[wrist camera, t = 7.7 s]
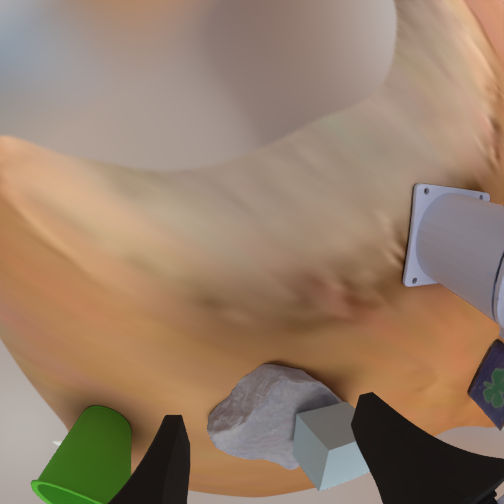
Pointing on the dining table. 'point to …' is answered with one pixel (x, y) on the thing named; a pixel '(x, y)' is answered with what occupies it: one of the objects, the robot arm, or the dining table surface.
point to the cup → (88, 461)
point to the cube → (328, 446)
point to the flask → (490, 384)
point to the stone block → (266, 413)
